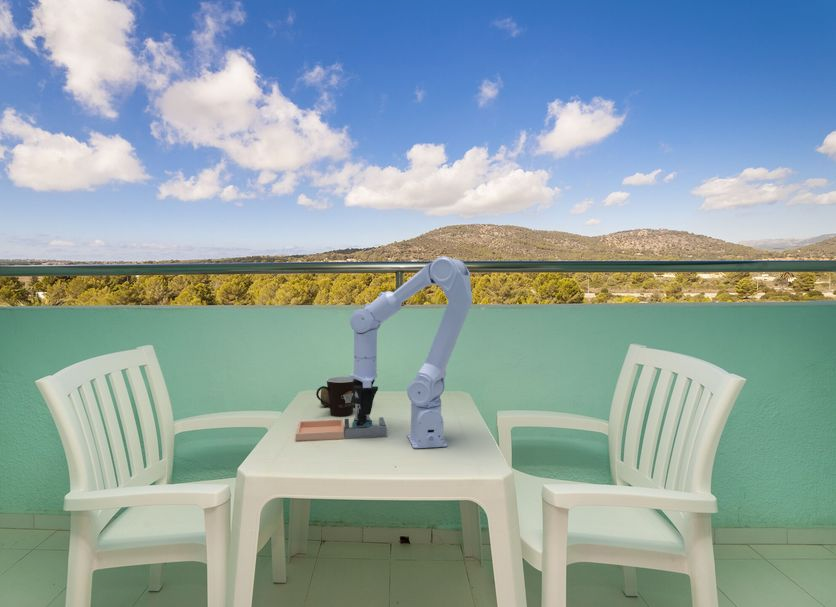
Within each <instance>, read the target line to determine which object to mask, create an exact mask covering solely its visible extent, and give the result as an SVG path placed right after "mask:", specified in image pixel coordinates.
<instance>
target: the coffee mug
mask: <svg viewBox="0 0 836 607" xmlns="http://www.w3.org/2000/svg"><path fill="white" fill-rule="evenodd" d="M353 379H355V378H349V376H332V377H329V378H326V386H325V385H322V386H320V387H318V388H317V389H316V393H315V394H316V398H317V399H318V400H319V401H320V403H321V402H323V403H324V404H326V405H325V406H327V405H328V406H327V407H329V413H330V416H331V417H336V418H344V417H349V416H353V414H354V408H355V406H354V403H353V399H352V396H353V395H355V391H356V390H355V383H354V382H353ZM323 388H325V389H327V391H328V397H329V404H328V403H327V402H325V401H323V400H321V396H320V395H319V393H320V392H321V390H322V389H323Z"/></svg>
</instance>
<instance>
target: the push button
mask: <svg viewBox="0 0 836 607" xmlns="http://www.w3.org/2000/svg"><path fill="white" fill-rule="evenodd" d="M352 399H353V403H355V406H354V410H355V411H354V418H353V421H352V423H351V424H352V427H372V426H379V424H373V420H372V419H371V418H370V415H362V413H361V409H360V402H359V397H358V394H357V392H355V395H353V396H352ZM358 405H359V406H358Z"/></svg>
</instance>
